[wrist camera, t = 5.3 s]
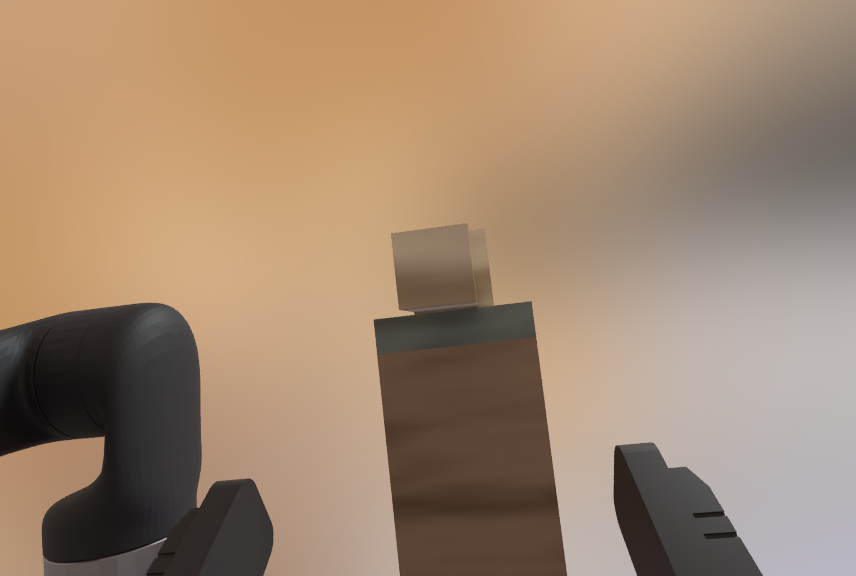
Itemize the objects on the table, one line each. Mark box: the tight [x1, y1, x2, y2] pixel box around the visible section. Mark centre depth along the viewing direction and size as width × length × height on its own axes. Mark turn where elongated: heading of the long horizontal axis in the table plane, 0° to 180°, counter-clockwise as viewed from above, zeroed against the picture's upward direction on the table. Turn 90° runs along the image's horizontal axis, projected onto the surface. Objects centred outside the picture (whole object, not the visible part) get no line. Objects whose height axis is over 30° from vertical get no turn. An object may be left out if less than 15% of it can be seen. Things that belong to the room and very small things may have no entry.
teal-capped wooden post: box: [374, 302, 567, 576], centre depth 30 cm, size 8×9×30 cm
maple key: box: [391, 224, 494, 315], centre depth 27 cm, size 17×5×5 cm, turn 173°
